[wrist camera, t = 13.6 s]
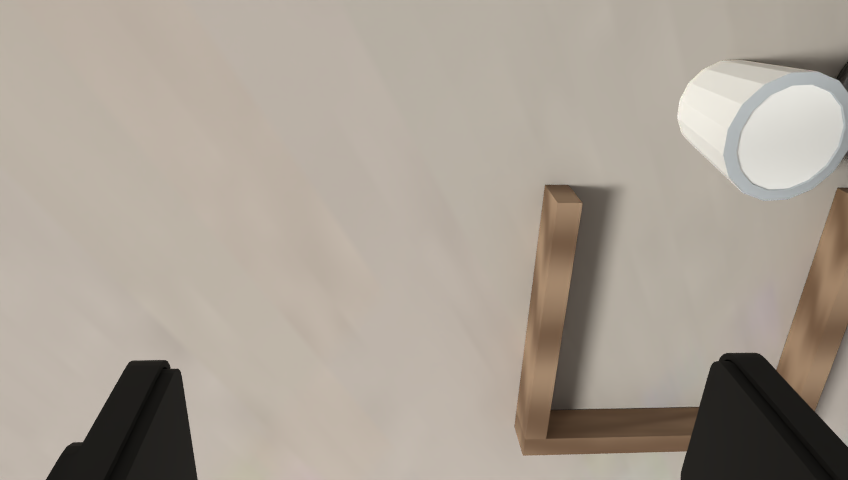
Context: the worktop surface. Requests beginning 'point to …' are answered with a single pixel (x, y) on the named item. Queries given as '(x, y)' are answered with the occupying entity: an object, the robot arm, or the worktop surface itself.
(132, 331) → the worktop surface
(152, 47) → the worktop surface
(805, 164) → the white cup
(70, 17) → the worktop surface
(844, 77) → the dark grey round dish
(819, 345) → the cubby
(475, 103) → the worktop surface
